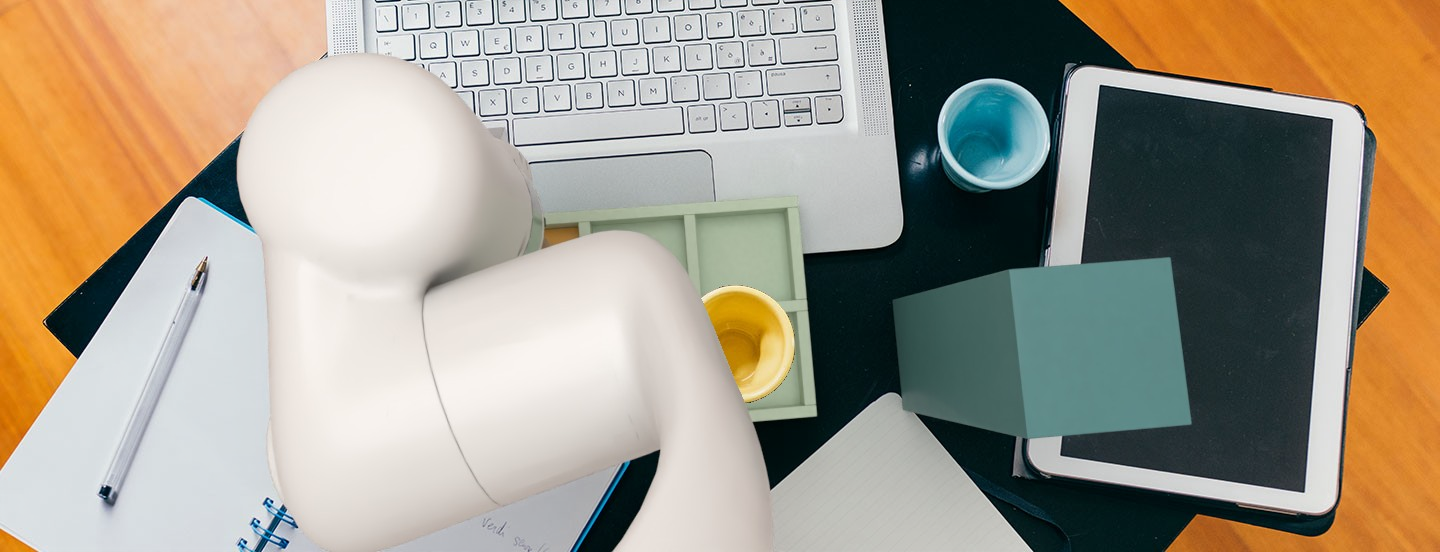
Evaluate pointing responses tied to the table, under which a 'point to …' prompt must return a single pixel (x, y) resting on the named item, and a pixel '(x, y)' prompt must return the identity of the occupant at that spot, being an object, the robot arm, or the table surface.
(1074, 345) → the plinth
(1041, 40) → the table surface
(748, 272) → the grid
